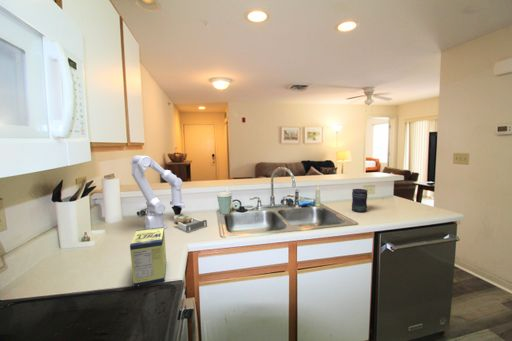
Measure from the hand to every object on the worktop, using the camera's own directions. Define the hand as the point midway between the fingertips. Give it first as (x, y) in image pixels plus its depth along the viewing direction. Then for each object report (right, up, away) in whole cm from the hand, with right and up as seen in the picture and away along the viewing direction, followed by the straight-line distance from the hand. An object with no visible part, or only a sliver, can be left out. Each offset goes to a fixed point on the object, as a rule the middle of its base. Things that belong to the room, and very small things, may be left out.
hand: (177, 217), depth 149 cm
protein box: (+9, -10, -58) cm, 60 cm away
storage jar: (+123, +1, +17) cm, 124 cm away
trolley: (+5, -3, -4) cm, 7 cm away
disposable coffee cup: (+28, -1, +17) cm, 32 cm away
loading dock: (+10, -4, -8) cm, 14 cm away
